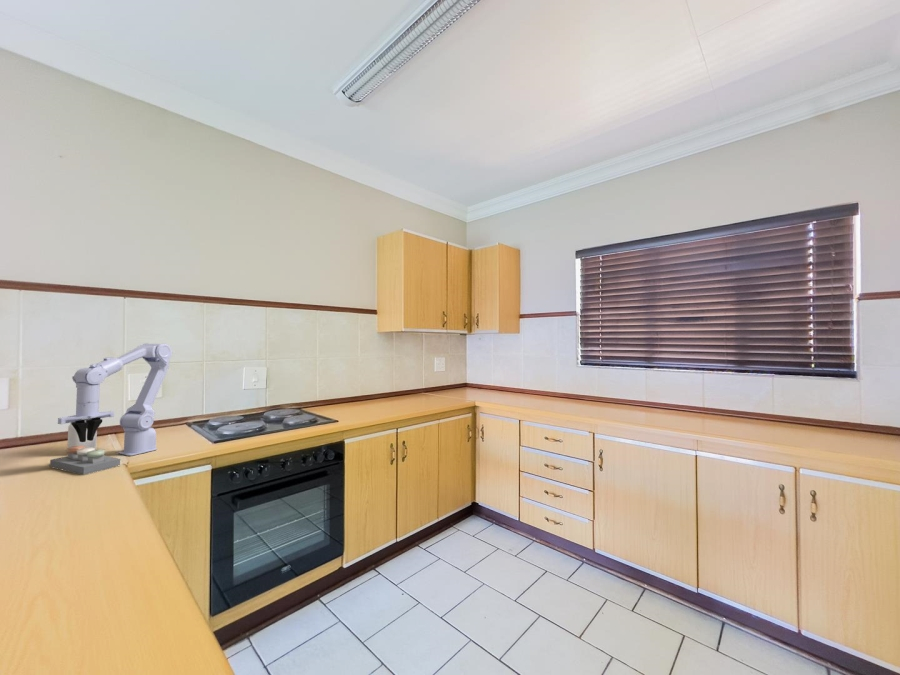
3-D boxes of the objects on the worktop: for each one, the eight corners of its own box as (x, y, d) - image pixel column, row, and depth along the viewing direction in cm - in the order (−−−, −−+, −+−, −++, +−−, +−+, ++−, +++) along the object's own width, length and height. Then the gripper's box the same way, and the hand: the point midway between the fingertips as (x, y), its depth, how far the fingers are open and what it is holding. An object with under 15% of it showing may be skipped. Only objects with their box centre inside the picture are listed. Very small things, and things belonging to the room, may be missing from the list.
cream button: (89, 459, 131) (90, 446, 131) (97, 460, 129) (97, 448, 130) (73, 462, 127) (74, 450, 127) (80, 464, 125) (81, 451, 125)
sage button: (99, 461, 129) (100, 448, 129) (107, 462, 127) (107, 450, 127) (83, 464, 125) (84, 452, 125) (91, 466, 123) (91, 453, 123)
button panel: (49, 467, 127) (50, 459, 127) (86, 458, 136) (87, 452, 136) (83, 475, 120) (83, 467, 120) (119, 465, 129) (120, 458, 129)
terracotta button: (80, 456, 133) (80, 445, 133) (87, 458, 132) (87, 446, 132) (63, 460, 129) (64, 448, 129) (70, 462, 127) (71, 449, 128)
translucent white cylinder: (77, 456, 139) (78, 424, 140) (61, 454, 141) (62, 423, 141) (101, 450, 147) (102, 420, 148) (86, 448, 149) (87, 419, 149)
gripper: (66, 406, 120) (65, 447, 120) (119, 400, 134) (118, 437, 134) (55, 404, 123) (53, 445, 123) (107, 398, 137) (106, 435, 136)
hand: (86, 440), depth 128 cm, fingers closed
